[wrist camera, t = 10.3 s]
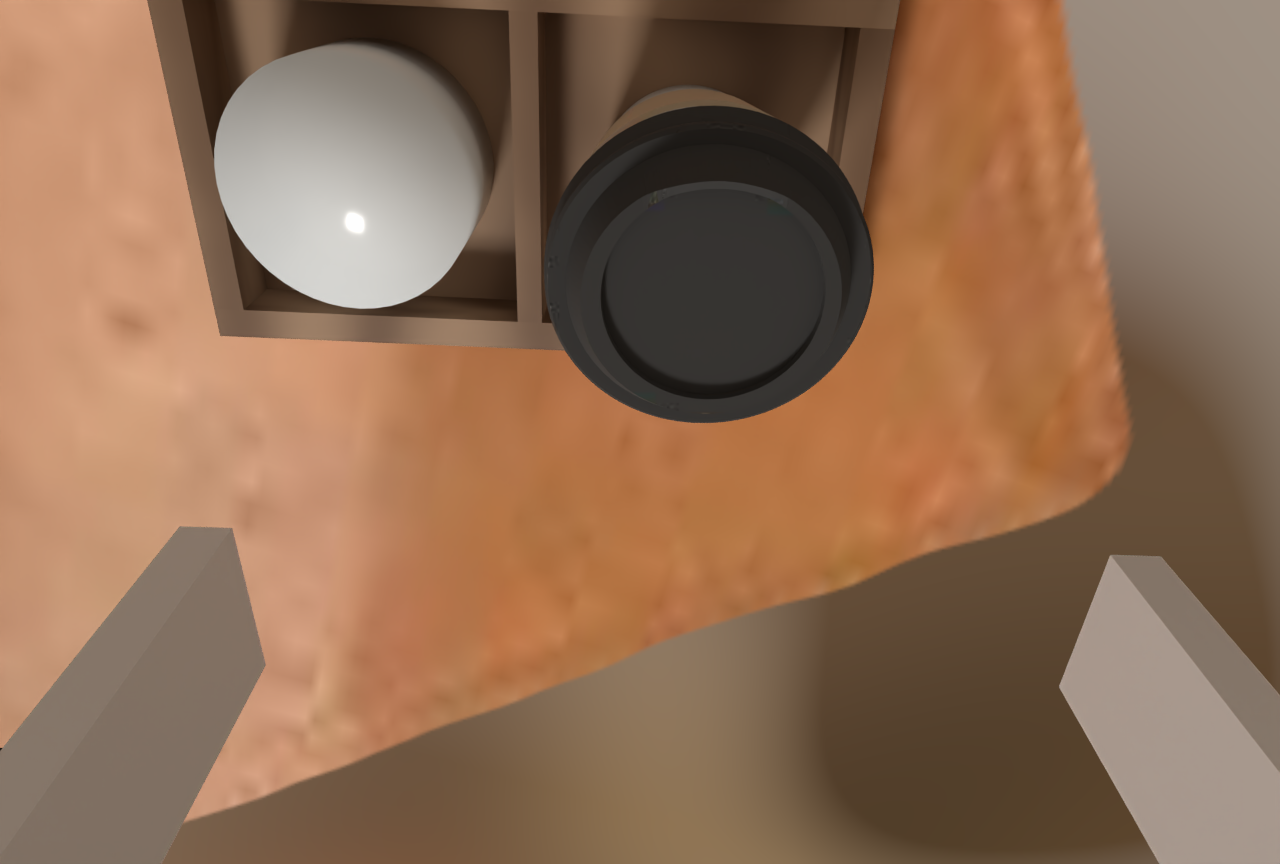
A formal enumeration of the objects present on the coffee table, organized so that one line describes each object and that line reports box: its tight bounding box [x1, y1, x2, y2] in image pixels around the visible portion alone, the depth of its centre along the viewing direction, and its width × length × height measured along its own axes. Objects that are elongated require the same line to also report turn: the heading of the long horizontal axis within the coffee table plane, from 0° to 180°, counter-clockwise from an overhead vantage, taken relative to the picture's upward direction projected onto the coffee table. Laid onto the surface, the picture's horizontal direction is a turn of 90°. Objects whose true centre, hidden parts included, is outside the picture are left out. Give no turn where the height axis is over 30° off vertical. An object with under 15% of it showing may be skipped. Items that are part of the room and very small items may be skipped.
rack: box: [147, 0, 900, 350], centre depth 34 cm, size 26×14×4 cm, turn 87°
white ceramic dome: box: [214, 37, 494, 309], centre depth 32 cm, size 9×9×5 cm
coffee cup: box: [544, 85, 874, 423], centre depth 28 cm, size 9×9×15 cm
